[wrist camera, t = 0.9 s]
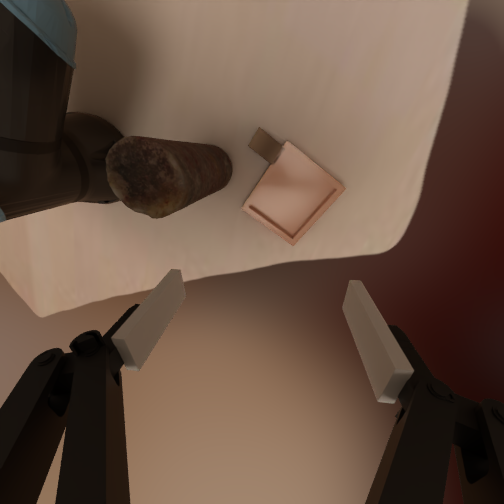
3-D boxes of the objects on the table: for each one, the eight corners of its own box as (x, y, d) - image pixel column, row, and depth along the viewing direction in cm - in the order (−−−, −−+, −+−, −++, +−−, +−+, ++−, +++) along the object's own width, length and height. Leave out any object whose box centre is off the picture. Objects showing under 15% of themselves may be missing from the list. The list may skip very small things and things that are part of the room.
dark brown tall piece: (207, 133, 33) (118, 114, 15) (242, 163, 34) (196, 177, 17) (186, 171, 36) (92, 192, 19) (218, 198, 38) (159, 240, 20)
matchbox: (250, 146, 33) (248, 145, 31) (260, 128, 32) (259, 127, 30) (274, 165, 34) (273, 165, 32) (285, 148, 32) (285, 148, 30)
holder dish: (243, 205, 38) (241, 208, 36) (287, 140, 32) (287, 140, 30) (292, 241, 39) (293, 246, 38) (343, 186, 33) (346, 188, 32)
